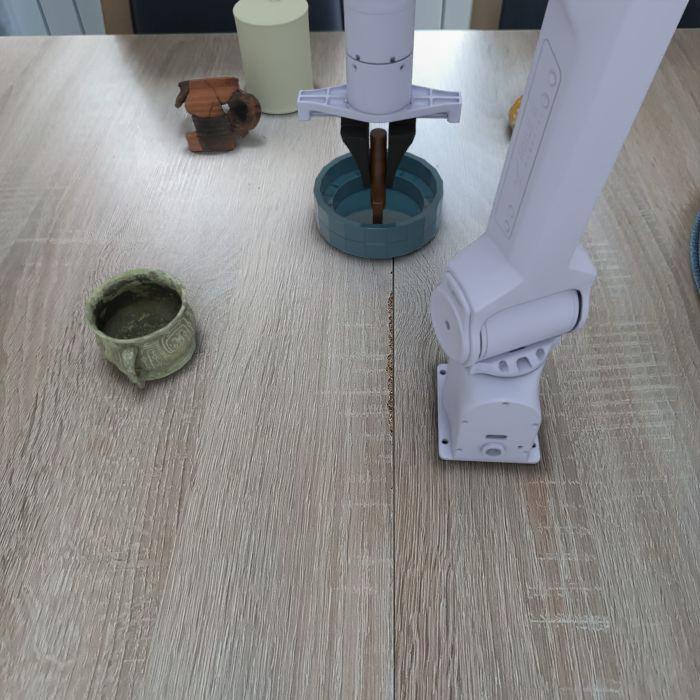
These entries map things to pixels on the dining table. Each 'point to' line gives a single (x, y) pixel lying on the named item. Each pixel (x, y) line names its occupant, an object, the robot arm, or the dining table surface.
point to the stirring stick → (378, 172)
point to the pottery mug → (217, 112)
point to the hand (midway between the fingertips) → (378, 182)
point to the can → (275, 51)
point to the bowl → (398, 216)
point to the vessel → (143, 323)
